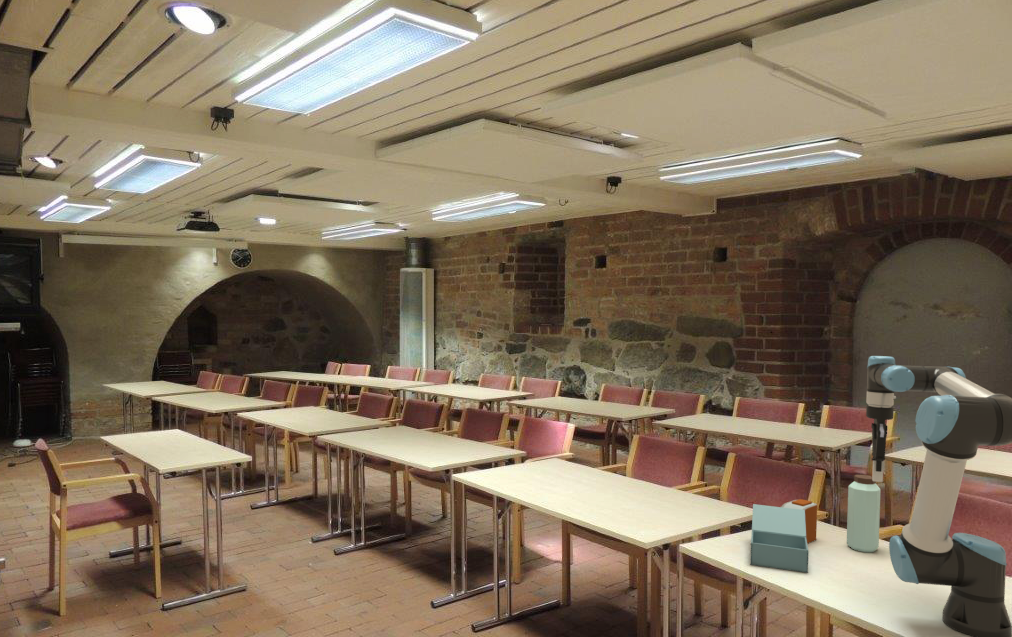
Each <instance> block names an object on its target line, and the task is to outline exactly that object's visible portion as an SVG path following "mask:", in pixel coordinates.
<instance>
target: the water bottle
mask: <svg viewBox="0 0 1012 637" xmlns="http://www.w3.org/2000/svg"><path fill="white" fill-rule="evenodd" d="M847 488H848V489H847V490H848V491H847V492H848V493H847V518H846V520H847V522H846V545H847V546H848V548H850V547H851V548H850V549H852V550H853V549H854V550H853V551H857V550H858V551H857V552H861V553H874V552H876V550H877V549H878V548H879V544H880V517H881V514H880V513H881V488H880V487H879V485H878V484H877V482H876V481H873V480H872V475H867V474H855V475H853V482H851V483H850V484H849V485H848V486H847Z"/></svg>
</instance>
